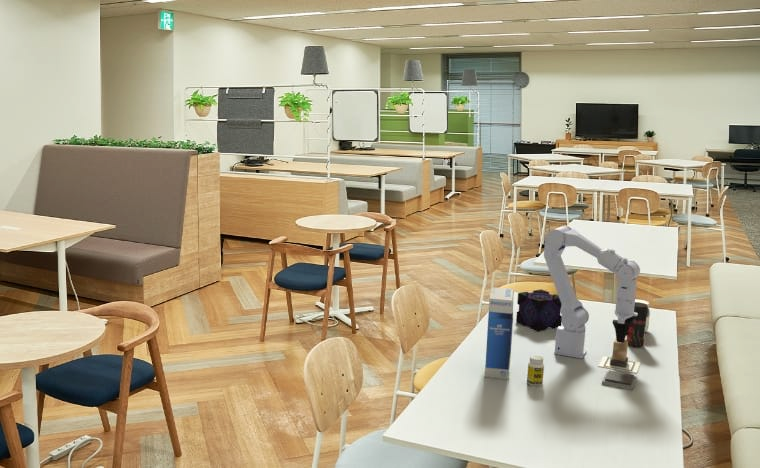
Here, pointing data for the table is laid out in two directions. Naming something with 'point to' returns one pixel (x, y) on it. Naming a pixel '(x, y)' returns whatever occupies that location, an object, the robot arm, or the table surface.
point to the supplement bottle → (535, 371)
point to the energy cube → (539, 310)
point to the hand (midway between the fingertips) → (621, 338)
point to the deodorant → (638, 326)
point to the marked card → (630, 367)
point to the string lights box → (499, 333)
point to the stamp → (619, 354)
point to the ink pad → (619, 380)
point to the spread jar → (647, 313)
